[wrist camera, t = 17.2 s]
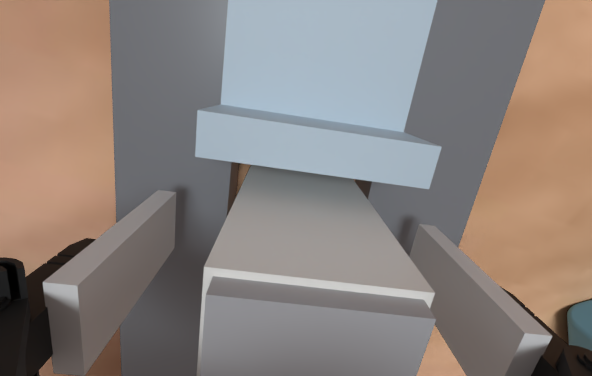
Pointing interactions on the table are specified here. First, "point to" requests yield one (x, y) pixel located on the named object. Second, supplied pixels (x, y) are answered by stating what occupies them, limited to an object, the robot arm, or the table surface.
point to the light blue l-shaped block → (322, 89)
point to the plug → (310, 285)
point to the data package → (580, 324)
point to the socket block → (224, 175)
